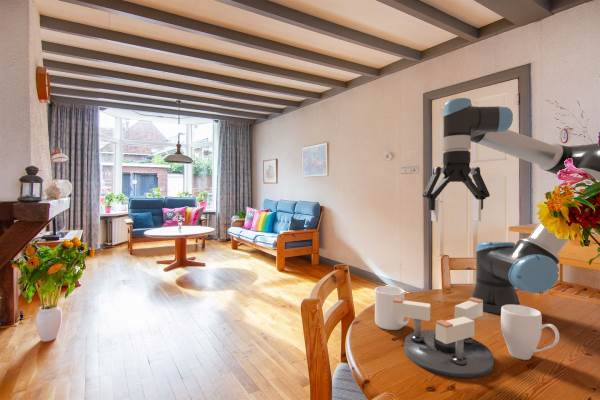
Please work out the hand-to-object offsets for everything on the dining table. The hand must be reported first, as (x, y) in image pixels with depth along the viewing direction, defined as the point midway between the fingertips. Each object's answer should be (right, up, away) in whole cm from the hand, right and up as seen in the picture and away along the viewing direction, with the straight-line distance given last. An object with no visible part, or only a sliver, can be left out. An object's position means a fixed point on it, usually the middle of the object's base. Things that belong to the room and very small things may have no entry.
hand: (455, 221), depth 100 cm
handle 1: (-18, -29, -14) cm, 37 cm away
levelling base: (-11, -32, -19) cm, 39 cm away
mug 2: (+8, -33, -20) cm, 39 cm away
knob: (-13, -29, -26) cm, 42 cm away
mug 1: (-20, -32, -2) cm, 38 cm away
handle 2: (-4, -29, -15) cm, 33 cm away
